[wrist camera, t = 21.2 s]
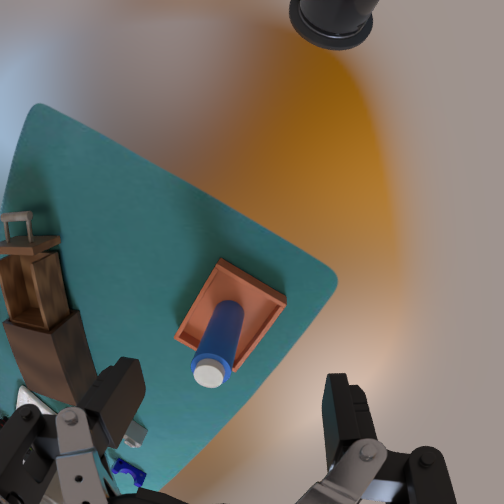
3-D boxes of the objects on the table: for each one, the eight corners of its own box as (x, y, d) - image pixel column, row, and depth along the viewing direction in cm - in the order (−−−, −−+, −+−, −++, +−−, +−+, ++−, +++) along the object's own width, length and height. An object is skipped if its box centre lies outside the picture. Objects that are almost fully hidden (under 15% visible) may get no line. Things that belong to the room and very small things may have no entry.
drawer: (12, 209, 41) (-15, 217, 34) (56, 205, 40) (27, 213, 33) (30, 307, 46) (8, 323, 39) (74, 315, 45) (52, 334, 39)
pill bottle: (213, 299, 42) (185, 358, 29) (244, 300, 42) (228, 361, 28) (214, 326, 43) (190, 390, 30) (244, 327, 43) (230, 393, 29)
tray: (220, 257, 41) (216, 263, 38) (286, 296, 42) (286, 304, 39) (178, 329, 45) (173, 338, 42) (237, 362, 45) (235, 372, 43)
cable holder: (114, 461, 58) (108, 472, 55) (118, 457, 58) (112, 469, 54) (141, 477, 59) (137, 488, 55) (146, 473, 58) (141, 485, 55)
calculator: (63, 418, 56) (60, 423, 54) (52, 444, 61) (49, 448, 59) (22, 382, 54) (18, 387, 53) (17, 414, 60) (13, 418, 58)
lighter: (148, 430, 53) (135, 458, 45) (144, 433, 53) (131, 461, 45) (119, 410, 52) (103, 437, 44) (116, 413, 52) (100, 439, 44)
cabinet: (30, 302, 47) (2, 322, 39) (79, 310, 46) (50, 334, 37) (50, 366, 51) (28, 389, 43) (98, 379, 50) (77, 407, 42)
